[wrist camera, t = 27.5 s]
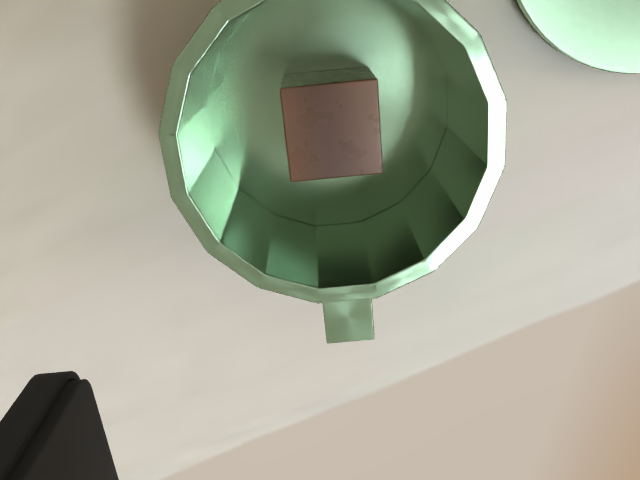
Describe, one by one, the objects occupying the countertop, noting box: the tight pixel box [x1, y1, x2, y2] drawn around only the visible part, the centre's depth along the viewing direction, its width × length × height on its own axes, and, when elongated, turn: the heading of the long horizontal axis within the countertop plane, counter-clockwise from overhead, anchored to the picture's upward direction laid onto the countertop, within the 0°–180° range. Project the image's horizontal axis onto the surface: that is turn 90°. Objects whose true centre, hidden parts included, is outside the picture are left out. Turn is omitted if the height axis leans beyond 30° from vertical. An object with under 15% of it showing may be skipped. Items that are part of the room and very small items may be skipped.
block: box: [280, 67, 383, 182], centre depth 31 cm, size 5×5×5 cm
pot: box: [159, 0, 507, 343], centre depth 30 cm, size 15×20×8 cm
